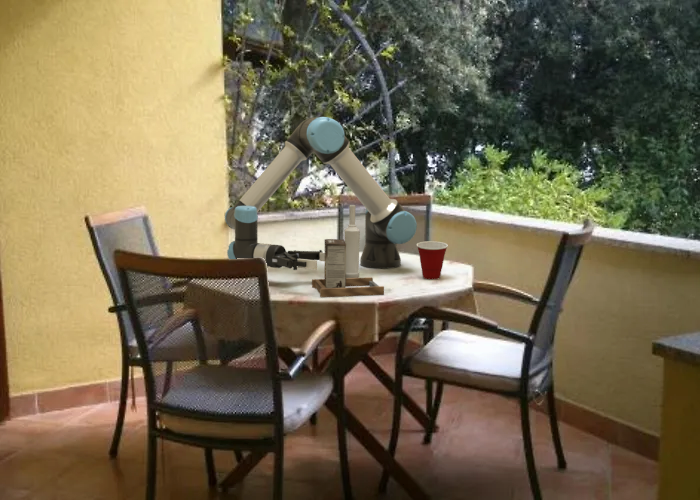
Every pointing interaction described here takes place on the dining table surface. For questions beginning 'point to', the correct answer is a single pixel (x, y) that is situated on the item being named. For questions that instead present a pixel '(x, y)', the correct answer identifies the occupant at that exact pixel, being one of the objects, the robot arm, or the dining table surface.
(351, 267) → the bottle
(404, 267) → the dining table surface
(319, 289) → the frame
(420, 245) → the plastic cup
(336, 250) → the coffee box
